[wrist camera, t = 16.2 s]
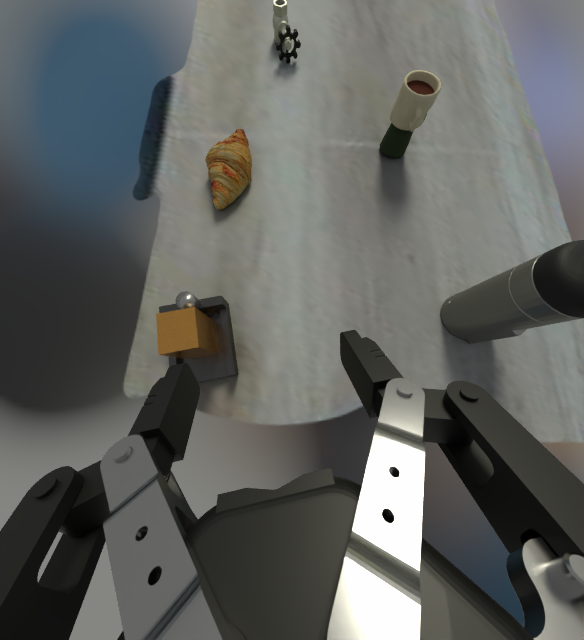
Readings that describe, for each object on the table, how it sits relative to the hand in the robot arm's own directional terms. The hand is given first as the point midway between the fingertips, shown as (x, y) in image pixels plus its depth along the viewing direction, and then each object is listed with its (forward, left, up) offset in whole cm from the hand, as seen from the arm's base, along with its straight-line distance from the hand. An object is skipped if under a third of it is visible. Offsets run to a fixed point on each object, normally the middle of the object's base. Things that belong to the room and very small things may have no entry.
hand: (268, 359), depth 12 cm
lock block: (+13, +9, -29) cm, 33 cm away
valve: (+71, -52, -31) cm, 94 cm away
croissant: (+43, -16, -31) cm, 55 cm away
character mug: (+27, -52, -31) cm, 67 cm away
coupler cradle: (+13, +9, -31) cm, 34 cm away
